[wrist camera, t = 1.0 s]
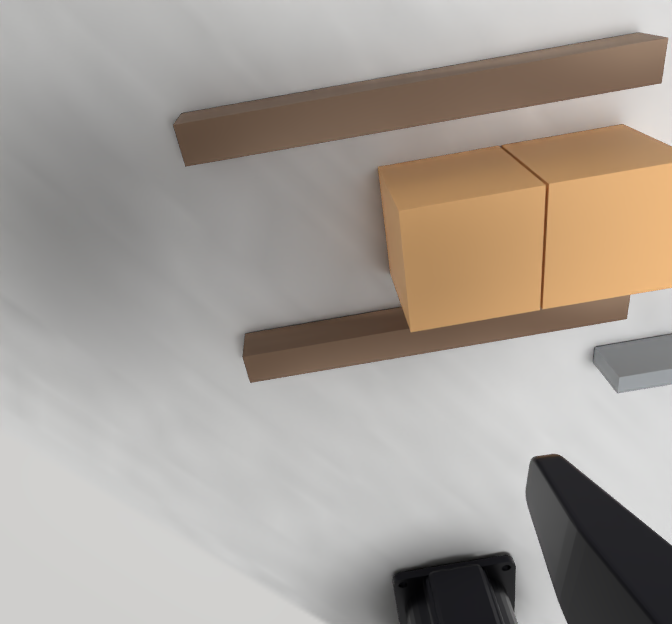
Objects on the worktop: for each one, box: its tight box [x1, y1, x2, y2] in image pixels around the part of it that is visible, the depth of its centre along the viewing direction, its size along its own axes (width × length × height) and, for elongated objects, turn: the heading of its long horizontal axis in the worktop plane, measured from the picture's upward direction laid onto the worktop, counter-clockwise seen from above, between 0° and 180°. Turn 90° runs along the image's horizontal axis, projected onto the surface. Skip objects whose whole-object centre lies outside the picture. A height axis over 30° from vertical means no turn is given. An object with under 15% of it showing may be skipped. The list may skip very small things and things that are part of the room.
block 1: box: [378, 146, 546, 332], centre depth 18 cm, size 4×4×4 cm
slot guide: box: [173, 33, 668, 383], centre depth 19 cm, size 9×14×2 cm
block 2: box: [501, 124, 672, 309], centre depth 18 cm, size 4×4×4 cm
